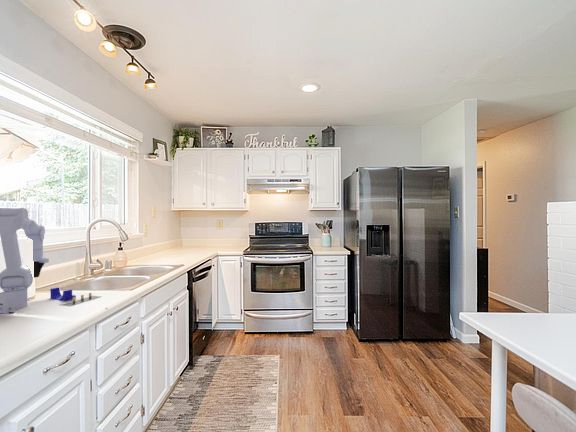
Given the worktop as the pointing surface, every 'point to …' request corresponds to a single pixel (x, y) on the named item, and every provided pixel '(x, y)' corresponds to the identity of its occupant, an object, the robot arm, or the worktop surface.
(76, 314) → the worktop surface
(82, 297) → the header pins
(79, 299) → the header plate
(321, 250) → the worktop surface
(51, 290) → the cable clip
